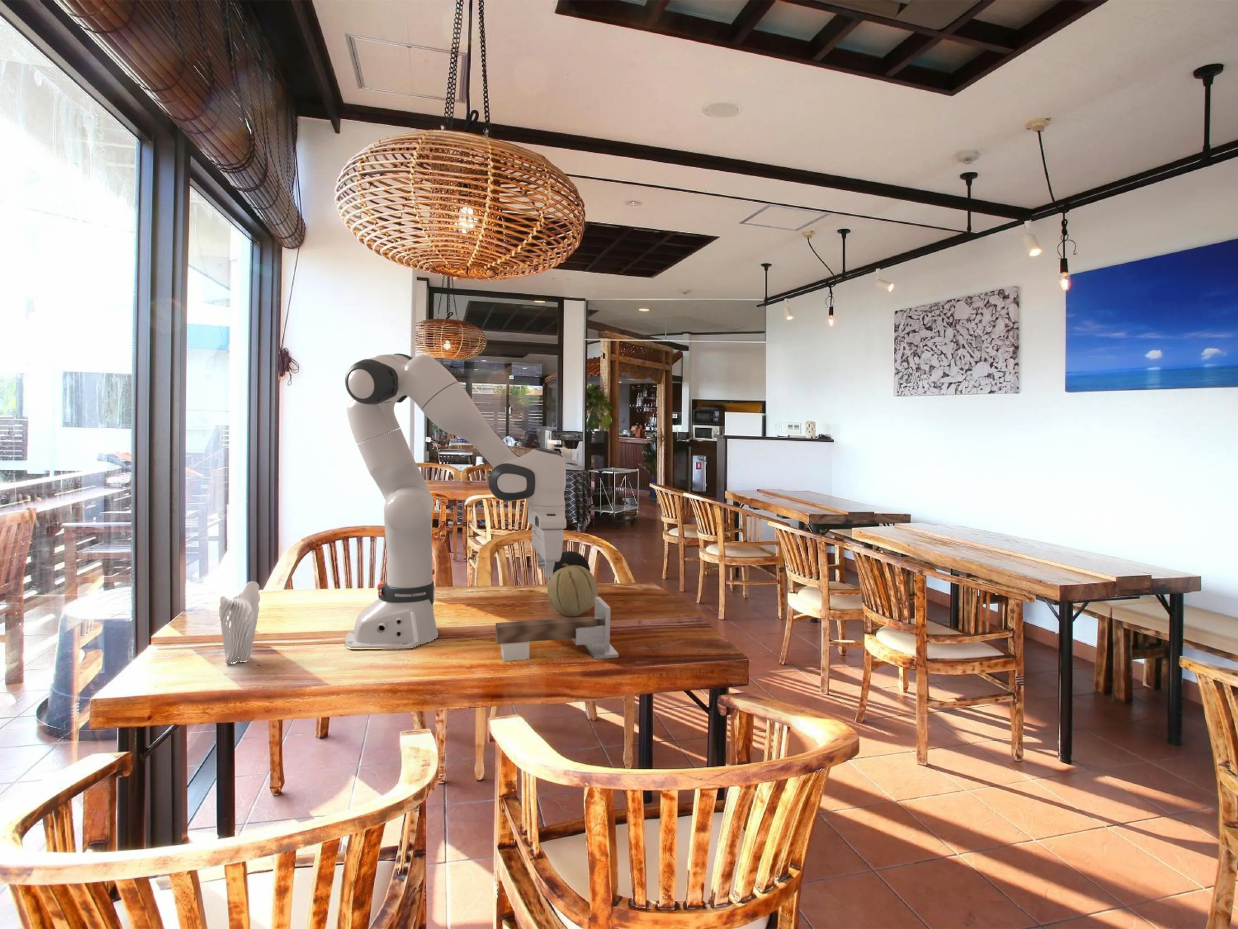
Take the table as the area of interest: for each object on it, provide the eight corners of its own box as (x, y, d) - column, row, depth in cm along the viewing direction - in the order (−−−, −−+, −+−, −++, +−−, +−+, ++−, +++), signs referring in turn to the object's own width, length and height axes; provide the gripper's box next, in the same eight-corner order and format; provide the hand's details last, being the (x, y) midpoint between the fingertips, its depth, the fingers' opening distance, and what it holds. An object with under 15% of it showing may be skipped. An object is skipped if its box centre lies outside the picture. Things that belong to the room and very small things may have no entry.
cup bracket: (578, 660, 159) (579, 610, 159) (566, 644, 171) (567, 597, 170) (618, 657, 162) (619, 608, 162) (604, 641, 174) (606, 595, 173)
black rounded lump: (557, 606, 205) (558, 557, 204) (541, 595, 217) (542, 549, 216) (596, 601, 211) (597, 553, 210) (579, 591, 223) (580, 546, 222)
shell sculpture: (215, 670, 148) (213, 590, 147) (220, 658, 156) (219, 581, 155) (258, 666, 152) (256, 587, 150) (261, 654, 159) (260, 578, 158)
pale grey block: (503, 661, 158) (503, 644, 158) (500, 654, 163) (501, 638, 162) (529, 659, 160) (529, 643, 159) (525, 652, 164) (526, 636, 164)
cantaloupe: (596, 623, 188) (597, 570, 187) (543, 622, 189) (544, 569, 188) (599, 608, 203) (600, 559, 202) (550, 607, 203) (551, 558, 202)
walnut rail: (497, 644, 158) (497, 627, 158) (495, 639, 161) (495, 622, 161) (596, 636, 165) (596, 620, 165) (592, 632, 168) (593, 616, 168)
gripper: (526, 509, 171) (525, 563, 172) (540, 522, 152) (538, 583, 153) (551, 509, 173) (549, 563, 174) (568, 522, 154) (566, 582, 155)
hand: (544, 572), depth 163 cm, fingers open, 8 cm apart
